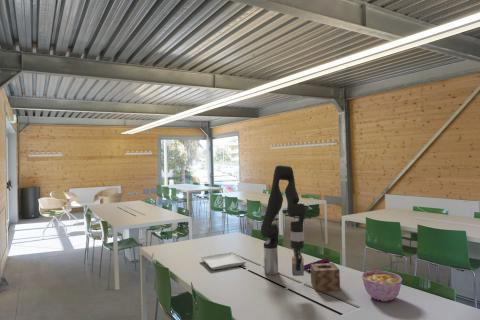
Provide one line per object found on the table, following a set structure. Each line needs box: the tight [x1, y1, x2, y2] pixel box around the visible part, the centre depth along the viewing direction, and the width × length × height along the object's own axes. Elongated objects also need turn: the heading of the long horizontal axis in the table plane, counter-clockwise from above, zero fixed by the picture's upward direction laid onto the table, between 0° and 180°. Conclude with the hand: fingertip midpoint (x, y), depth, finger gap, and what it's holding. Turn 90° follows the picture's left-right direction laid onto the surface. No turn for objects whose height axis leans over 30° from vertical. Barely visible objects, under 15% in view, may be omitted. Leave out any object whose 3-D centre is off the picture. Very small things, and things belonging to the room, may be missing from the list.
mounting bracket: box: [304, 257, 331, 270], centre depth 225 cm, size 10×8×18 cm
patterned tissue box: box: [310, 262, 341, 292], centre depth 197 cm, size 14×12×12 cm
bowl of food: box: [361, 270, 403, 302], centre depth 179 cm, size 20×20×12 cm
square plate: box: [199, 252, 247, 271], centre depth 248 cm, size 27×27×4 cm
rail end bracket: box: [291, 255, 305, 277], centre depth 188 cm, size 6×3×10 cm, turn 90°
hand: (297, 269), depth 188 cm, fingers closed on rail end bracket, 3 cm apart
